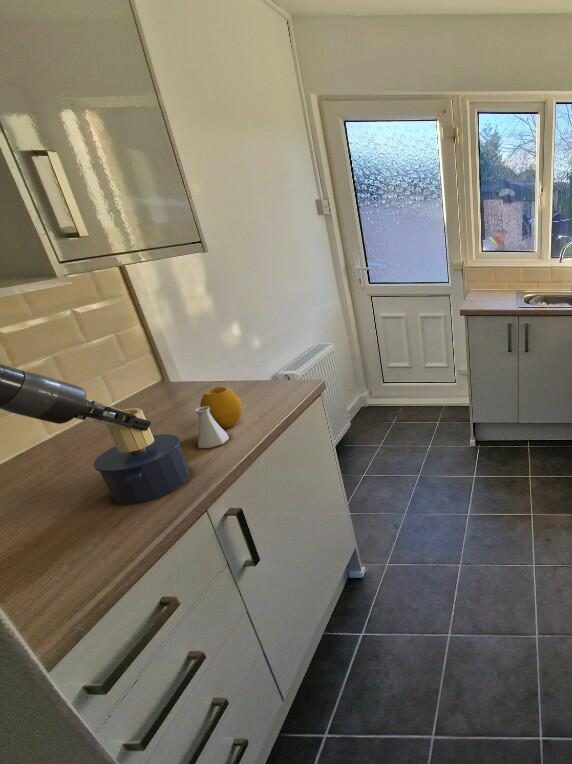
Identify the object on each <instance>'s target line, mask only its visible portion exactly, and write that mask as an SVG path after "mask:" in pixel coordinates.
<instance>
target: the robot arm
mask: <svg viewBox="0 0 572 764" xmlns="http://www.w3.org/2000/svg"><path fill="white" fill-rule="evenodd" d="M0 410H2V411H5V412H8V413H11V414H15V415H18V416H19V415H20V416H23V417H28V418H32V419H36V420H39V421H40V420H41V421H43V422H49V423H53V424H58V425H62V424H66V423H69V422H71V421H72V420H73V419H77V420H81V421H86V422H91V423H95V422H96V423H99V424H104V425H106V424H107V425H112V424H118V425H122V426H123V427H131V428H135V429H139V430H143V431H146V430H148V428H150V426H151V424H152V423H151V421H150V420H147V419H146V420H144V419H141V418H137V417H136V416H135V415H134V414H128V413H125V412H122V410H121V409H120V408H116V407H114V406H109V405H107V404H104V403H103V402H100V401H97V400H91V399H87V392H86V390H85V389H84V388H82V387H81V386H78V385H75V384H72V383H69V382H66V381H63V380H59V379H56V378H53V377H50V376H47V375H43V374H41V373H37V372H32V371H27V370H22V369H20V368H16V367H14V366H13V367H12V366H10V365H7V364H3V363H0ZM120 410H121V411H120ZM124 416H125V418H124ZM123 418H124V420H123ZM104 420H105V421H104ZM122 420H123V422H122Z"/></svg>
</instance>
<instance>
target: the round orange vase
mask: <svg viewBox="0 0 572 764" xmlns="http://www.w3.org/2000/svg"><path fill="white" fill-rule="evenodd" d="M199 406H200V407H203V406H209V408H210V410H209V412H210V414H211V416H212V417H213V419H214V420H215V421H216V422H217V424H218V425H219V426H220V427H221V428H222V429H229V428H232V427H233V426H235V425H236V424H238V422H239V420H240V419H241V416H242V413H243V404H242V401H241V399H240V398H239V396H238V395H237V394H236V393H235V392H234V391H233V390H231V389H229V388H228V387H223V386H218V387H215V388H211V389H210V390H208V391H206V392H204V394H203V395H202V397H201V399H200V403H199Z"/></svg>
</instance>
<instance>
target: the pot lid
mask: <svg viewBox="0 0 572 764" xmlns="http://www.w3.org/2000/svg"><path fill="white" fill-rule="evenodd" d="M152 435H153V438H154V442H153V443H152V444H150V445H149V446H147V447H145V448H142V449H140V450H139V449H138V450H137V451H132V452H120V451H118V449H117V447H116V445H114V446H113V447H111V448H109V449H107V450H105V451H104V452H103V453H101V454H100V455H98V456H97V457H96V458H95V460H94V461H93V467H94V469H95V470H96V471H98V472H99V473H100V472H121V471H127V470H131V469H135V468H139V467H142V466H145V465H148V464H151V463H153V462H156V461H158V460H160V459H162V458H164V457H166V456H167V455H169V454H171V453H172V452H173V451H175V450H176V449H177V448H178V446H179V445H181V439H180V438H179V437H178V436H177V435H174V434H169V433H160V434H152Z"/></svg>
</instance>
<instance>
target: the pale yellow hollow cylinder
mask: <svg viewBox="0 0 572 764" xmlns="http://www.w3.org/2000/svg"><path fill="white" fill-rule="evenodd" d="M120 411H122V412H125V413H128V414H134V415H135V416H136V417H137V418H141V419H144V420H147V419H146V416H145V414H144V412H143V409H142V408H139V407H132V408H125V409H120ZM124 418H125V416H124ZM124 418H123V420H124ZM123 420H122V422H123ZM104 421H105V420H104ZM105 427H106V428H107V429H108V430H107V431H108V432H109V434H110V437H111V439H112V441H113V443H114V446H116V447H117V449H118V451H120V452H132V451H137V450H138V449H139V450H140V449H142V448H145V447H147V446H149V445H150V444H152V443H153V442H154V438H153V435H154V434H153V433H152V431H151V429H150V427H149V428H148V430H146V431H143V430H139V429H135V428H131V427H123V426H122V425H118V424H112V425H107V424H105Z"/></svg>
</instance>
